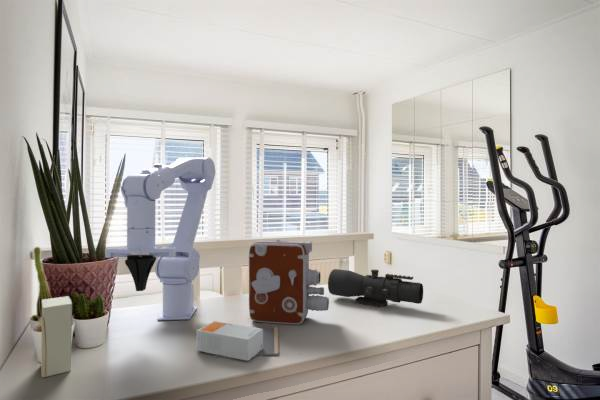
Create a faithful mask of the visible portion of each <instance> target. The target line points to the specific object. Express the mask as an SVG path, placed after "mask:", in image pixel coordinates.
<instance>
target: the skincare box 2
mask: <svg viewBox="0 0 600 400" xmlns="http://www.w3.org/2000/svg"><path fill="white" fill-rule="evenodd" d="M195 333H196V339H195V340H196V345H195V346H196V347H195V348H196V351H198V352H203V353H207V354H211V355H215V356H216V355H221V356H226V357H225V358H231V359H237V360H242V361H247V362H248V361H250V360H251V359H252V358H253V357H256V356H255V355H256V354H257V353H258V352H259V351H261V350H262V349H263V329H260V328H259V327H255V326H254V327H252V326H246V325H240V324H237V323H236V324H235V323H229V322H223V321H217V320H213V321H212V322H210V323H208V324H206V325H205V326H203V327H200V328H199V329H197V330H196V332H195Z"/></svg>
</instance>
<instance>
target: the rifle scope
mask: <svg viewBox="0 0 600 400" xmlns="http://www.w3.org/2000/svg"><path fill="white" fill-rule="evenodd" d="M370 272H371V274H366V275H362V274H359V273H358V272H355V271H351V270H348V269H338V268H337V269H336V268H334V269H332V270H331V271H330V273H329V274H328V278H327V289H328V292H329V294H331V295H333V296H339V297H346V298H350V297H357V298H355V304H356V305H361V304H362V305H363V306H369V307H373V306H374V307H373V308H381V309H385V306H386V307H387V306H389V305H388V304H389V303H388V301H390V302H392V303H398V304H399V303H401V302H406V303H412V304H418V305H419V304H422V302H423V299H424V285H423V283H421V282H415V281H411V280H413V279H414V276H410V275H407V276H406V275H401V274H392V273H390V274H389V273H386V274H385V276H379V269H371V270H370ZM406 280H410V281H406Z"/></svg>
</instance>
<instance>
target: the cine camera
mask: <svg viewBox="0 0 600 400" xmlns="http://www.w3.org/2000/svg"><path fill="white" fill-rule="evenodd" d="M312 251H313V242H312V241H307V240H306V241H305V240H304V241H302V240H281V239H276V240H269V239H268V240H265V239H263V240H259V241H256V242H254V241H253V243H252V244H250V247H249V250H248V312H249V318H250V320H251V321H253V322H256V323H264V324H265V323H268V324H281V325H282V324H283V325H301V324H303V322H304V321H305V320H306V317H307V316H308V314H309V311H310V310H311V311H313V312H314V311H316V312H323V311H324V312H325V311H329V308H330V307H329V305H330V300H329V299H330V298H329V297H328V296H324V295H325V287H323V286H321V287H320V286H319V287H317V285H318V284H319V285H320V283H321V272H320V271H318V269H311V268H310V253H311V252H312ZM311 285H313V286H311Z"/></svg>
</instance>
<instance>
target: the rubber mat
mask: <svg viewBox="0 0 600 400" xmlns="http://www.w3.org/2000/svg"><path fill="white" fill-rule="evenodd" d="M260 329H263V349H262V350H261V351H259V352H258V353H257V354H256V355H255V356H254V357H273V356H274V357H276V356H279V353H280V352H279V333H278V332H279V331H278V329H279V328H278V326H274V327H268V328H267V327H265V328H260ZM215 358H219V359H221V358H227V357H226V356H221V355H216V354H215Z"/></svg>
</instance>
